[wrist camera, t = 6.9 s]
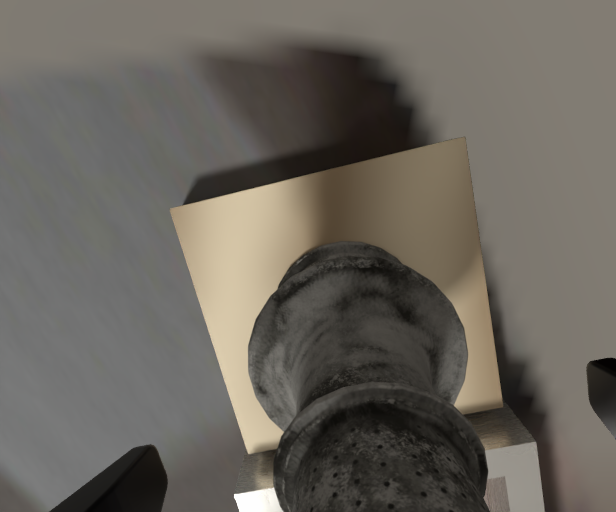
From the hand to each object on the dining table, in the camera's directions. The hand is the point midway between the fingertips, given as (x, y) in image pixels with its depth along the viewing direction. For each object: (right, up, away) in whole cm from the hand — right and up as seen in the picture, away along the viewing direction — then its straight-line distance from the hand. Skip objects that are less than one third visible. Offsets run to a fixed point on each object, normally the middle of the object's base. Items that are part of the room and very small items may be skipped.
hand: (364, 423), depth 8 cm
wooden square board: (0, +2, +7) cm, 7 cm away
